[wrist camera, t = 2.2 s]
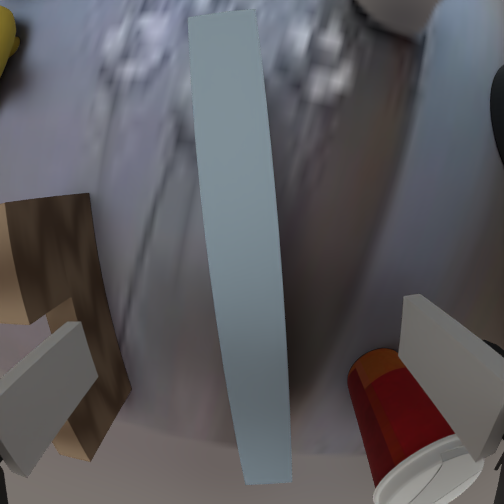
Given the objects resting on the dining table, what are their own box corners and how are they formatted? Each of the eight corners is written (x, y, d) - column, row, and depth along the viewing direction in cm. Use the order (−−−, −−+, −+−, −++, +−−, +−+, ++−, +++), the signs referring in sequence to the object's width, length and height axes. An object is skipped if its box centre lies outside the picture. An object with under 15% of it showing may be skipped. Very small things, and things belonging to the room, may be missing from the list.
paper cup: (378, 415, 26) (425, 524, 13) (318, 390, 26) (350, 521, 12) (429, 355, 25) (509, 451, 11) (372, 321, 24) (455, 434, 11)
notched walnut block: (60, 198, 23) (-25, 211, 13) (89, 192, 23) (4, 202, 13) (105, 387, 26) (59, 454, 17) (131, 389, 26) (90, 462, 17)
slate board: (215, 81, 21) (188, 17, 11) (256, 76, 21) (255, 8, 11) (249, 397, 26) (245, 484, 16) (283, 395, 26) (292, 481, 16)
